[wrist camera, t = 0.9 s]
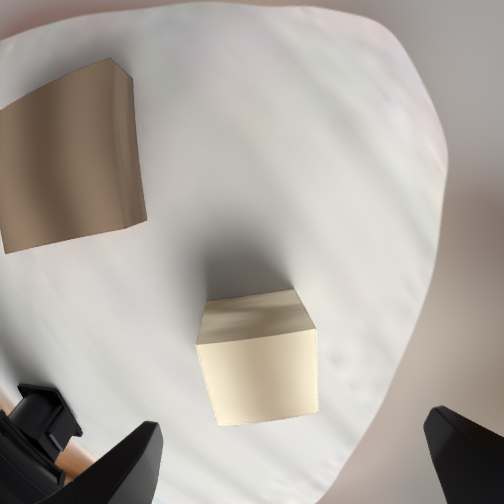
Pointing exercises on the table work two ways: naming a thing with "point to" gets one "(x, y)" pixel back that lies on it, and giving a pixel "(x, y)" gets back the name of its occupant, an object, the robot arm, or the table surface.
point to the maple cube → (259, 358)
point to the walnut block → (70, 160)
